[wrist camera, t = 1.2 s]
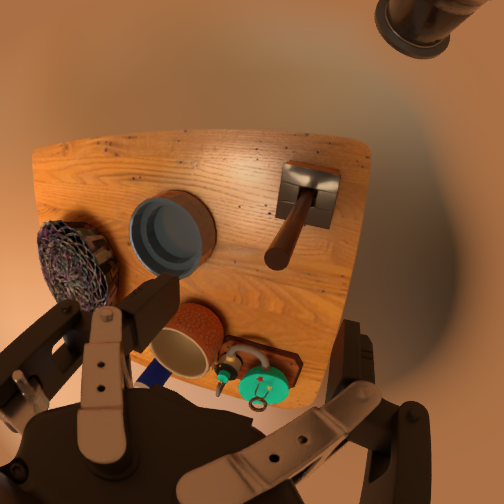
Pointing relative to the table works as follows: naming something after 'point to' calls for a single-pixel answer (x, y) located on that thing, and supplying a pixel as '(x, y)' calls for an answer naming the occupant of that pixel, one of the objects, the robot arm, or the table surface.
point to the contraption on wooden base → (256, 370)
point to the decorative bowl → (78, 264)
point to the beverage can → (153, 375)
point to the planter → (189, 341)
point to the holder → (311, 177)
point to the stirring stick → (289, 233)
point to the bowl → (172, 233)
